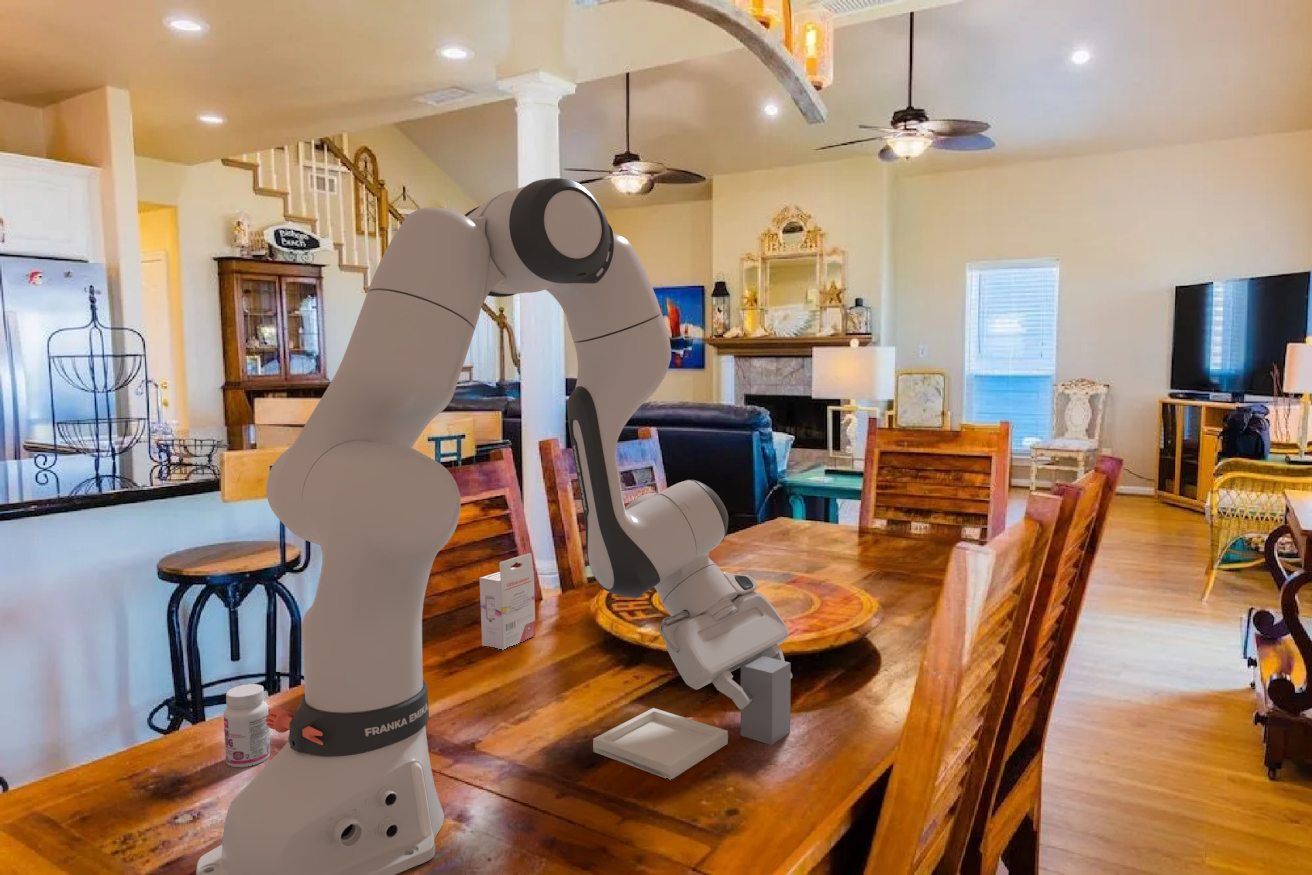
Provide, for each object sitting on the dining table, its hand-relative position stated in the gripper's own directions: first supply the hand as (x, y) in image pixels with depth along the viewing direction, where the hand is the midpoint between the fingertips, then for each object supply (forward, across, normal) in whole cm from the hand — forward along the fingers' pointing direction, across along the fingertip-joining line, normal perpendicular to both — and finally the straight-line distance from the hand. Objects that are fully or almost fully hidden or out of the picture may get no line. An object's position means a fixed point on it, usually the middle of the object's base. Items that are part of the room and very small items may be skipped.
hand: (768, 693), depth 105 cm
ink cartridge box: (-34, +5, +42) cm, 54 cm away
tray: (-2, -11, +10) cm, 15 cm away
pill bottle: (-28, -43, +36) cm, 63 cm away
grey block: (+4, 0, +4) cm, 5 cm away
